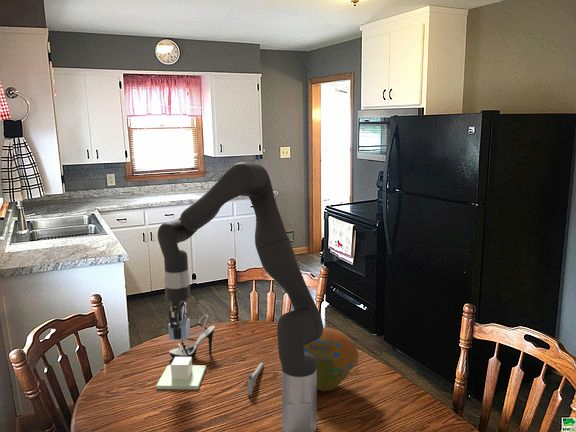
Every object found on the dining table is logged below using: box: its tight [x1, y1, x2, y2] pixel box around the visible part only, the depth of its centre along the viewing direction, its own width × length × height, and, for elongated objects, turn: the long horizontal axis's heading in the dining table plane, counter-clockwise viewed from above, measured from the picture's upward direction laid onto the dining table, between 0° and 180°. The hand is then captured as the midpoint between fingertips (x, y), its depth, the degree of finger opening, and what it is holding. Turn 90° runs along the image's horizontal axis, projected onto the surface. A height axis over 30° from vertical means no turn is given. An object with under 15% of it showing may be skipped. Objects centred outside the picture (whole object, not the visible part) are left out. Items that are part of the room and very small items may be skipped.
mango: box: [304, 326, 359, 392], centre depth 150 cm, size 20×16×20 cm
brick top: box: [167, 317, 191, 341], centre depth 154 cm, size 5×5×5 cm
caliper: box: [247, 362, 265, 397], centre depth 156 cm, size 20×1×6 cm, turn 172°
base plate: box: [155, 364, 207, 390], centre depth 157 cm, size 13×13×1 cm
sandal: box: [168, 314, 216, 361], centre depth 171 cm, size 15×9×15 cm, turn 82°
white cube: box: [170, 357, 193, 380], centre depth 157 cm, size 5×5×5 cm
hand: (179, 334), depth 155 cm, fingers closed on brick top, 5 cm apart
